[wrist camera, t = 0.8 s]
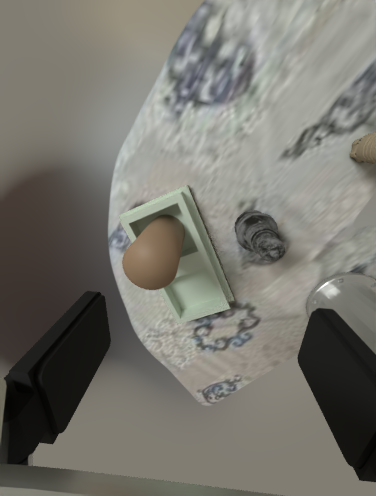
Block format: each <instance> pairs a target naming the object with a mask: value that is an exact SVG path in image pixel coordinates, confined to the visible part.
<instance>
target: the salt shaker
mask: <svg viewBox="0 0 376 496" xmlns="http://www.w3.org/2000/svg"><path fill="white" fill-rule="evenodd" d="M235 232H236V234H237V240H238V242H239V244H240V245H241V246H242V247H243V248H245V249H246V250H249V251H254V252H256V253H258V254H260V256H261V257H262V258H263V259H264V260H266V261H270V262H273V261H277V260H279V259H280V258H281V257H282V256H283V255H284V252H285V247H284V245H283V243H282V242H281V241H280V240H279V237H278V235H277V225H276V222H275V221H274V219H273V218H272V217H270V216H269V215H267V214H264V213H261V212H259V211H256V210H250V211H246V212H244V213H243V214H241V215H240V216H239V217H238V218H237V220H236V222H235Z"/></svg>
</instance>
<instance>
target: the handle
mask: <svg viewBox="0 0 376 496" xmlns="http://www.w3.org/2000/svg"><path fill="white" fill-rule="evenodd" d="M350 157H353V158H355V159H356V161H358V162H368V163H376V132H374V133H371V134H368V135H365V136H364V137H363V138H361V139H357V140H355V141H354V142H353V144H352V151H351V153H350Z"/></svg>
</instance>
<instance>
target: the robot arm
mask: <svg viewBox="0 0 376 496" xmlns="http://www.w3.org/2000/svg"><path fill="white" fill-rule="evenodd" d="M306 310H307V314H308V317H309V318H310V319H309V322H308V325H307V328H306V331H305V335H304V338H303V341H302V344H301V347H300V350H299V354H298V363H299V366H300V368H301V370H302V372H303V374H304V376H305V378H306V380H307V382H308V384H309V386H310V388H311V390H312V392H313V395H314V397H315V398H316V401H317V402H318V405H319V406H320V409H321V411H322V413H323V415H324V417H325V419H326V421H327V423H328V425H329V427H330V429H331V431H332V433H333V435H334V438H335V440H336V442H337V444H338V446H339V448H340V450H341V452H342V454H343V456H344V458H345V460H346V462H347V463H348V464H349V465H350V466H352V467H353V468H354V470H355V472H356V474H357V476H358V478H359V480H361V481H371V482H376V280H374V279H373V278H371V277H369V276H367V275H365V274H362V273H357V272H347V273H341V274H337V275H334V276H332V277H329V278H327V279H326V280H324V281H322V282H321V283H320V284H318V285H317V286H316V287H315V288H314V290H313V291H312V292H311V294H310V295H309V297H308V300H307V304H306ZM110 341H111V339H110V332H109V324H108V317H107V311H106V302H105V297H104V296H103V295H101V293H100V292H92V291H87V292H85V293H84V294H83V295H82V296H81V297H80V298H79V299H78V301H76V303H75V304H74V305H73V306H72V307H71V308H70V309H69V310H68V311H67V312H66V313H65V314H64V315H63V316H62V317H61V318H60V319H59V320H58V321H57V322H56V323H55V324H54V325H53V326H52V327H51V328H50V329H49V330H48V331H47V332H46V333H45V334H44V336H43V337H42V338H41V339H40V340H39V341H38V342H37V343H36V344H35V345H34V346H33V347H32V348H31V349H30V350H29V351H28V352H27V353H26V354H25V355H24V356H23V357H22V358H21V359H20V360H19V361H18V362H17V363H16V364H15V366H13V367H12V369H11V370H10V371H9V374H8V375H7V376H6V377H5V378H4V379H3V378H2V377H0V496H283V495H274V494H267V493H259V492H251V491H242V490H235V489H227V488H219V487H211V486H202V485H195V484H186V483H179V482H171V481H163V480H155V479H146V478H138V477H129V476H121V475H112V474H104V473H95V472H87V471H78V470H69V469H59V468H47V467H38V466H33V452H34V451H35V449H36V447H37V446H38V444H39V443H47V444H53V443H54V442H55V440H56V438H57V436H58V434H59V433H62V432H64V430H65V429H66V427H67V426H68V423H69V422H70V420H71V418H72V416H73V414H74V412H75V411H76V409H77V407H78V405H79V403H80V401H81V399H82V397H83V396H84V394H85V392H86V390H87V388H88V386H89V384H90V382H91V381H92V379H93V377H94V375H95V373H96V371H97V369H98V367H99V366H100V364H101V362H102V360H103V358H104V356H105V354H106V352H107V351H108V349H109V346H110Z"/></svg>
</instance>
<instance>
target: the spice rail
mask: <svg viewBox="0 0 376 496" xmlns="http://www.w3.org/2000/svg"><path fill="white" fill-rule="evenodd" d="M119 218H120V222H121V224H122V226H123V227H124V229H125V231H126V233H127V235H128V236H129V238H130V240H131V242H132V244H131V245H130V246H129V248H128V249H127V250H126V252H125V253H124V256H123V261H122V264H123V269H124V272H125V274H126V276H127V277H128V279H129V280H130V281H131V282H132V283H134V284H135V285H137V286H138V287H141V288H144V289H148V290H157V289H158V290H159V292H160V294H161V296H162V298H163V299H164V301H165V303H166V305H167V307H168V308H169V310H170V312H171V314H172V316H173V317H174V319H175V321H176V323H177V324H181V323H184V322H187V321H191V320H194V319H197V318H201V317H204V316H207V315H211V314H214V313H217V312H221V311H224V310H227V309H230V306H229V302H230V301H233V300H234V297H233V295H232V292H231V290H230V287H229V285H228V283H227V280H226V278H225V275H224V273H223V270H222V268H221V265H220V263H219V261H218V258H217V256H216V253H215V251H214V248H213V246H212V244H211V241H210V239H209V236H208V234H207V231H206V229H205V226H204V224H203V222H202V219H201V217H200V214H199V212H198V209H197V207H196V204H195V202H194V200H193V197H192V195H191V192H190V190H189V187H188V185H186V186H184V187H181V188H179V189H177V190H175V191H172V192H170V193H168V194H166V195H163V196H161V197H159V198H157V199H154V200H152V201H150V202H148V203H145V204H143V205H141V206H139V207H136V208H134V209H132V210H130V211H127V212H125V213H123V214H121V215H119Z"/></svg>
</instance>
